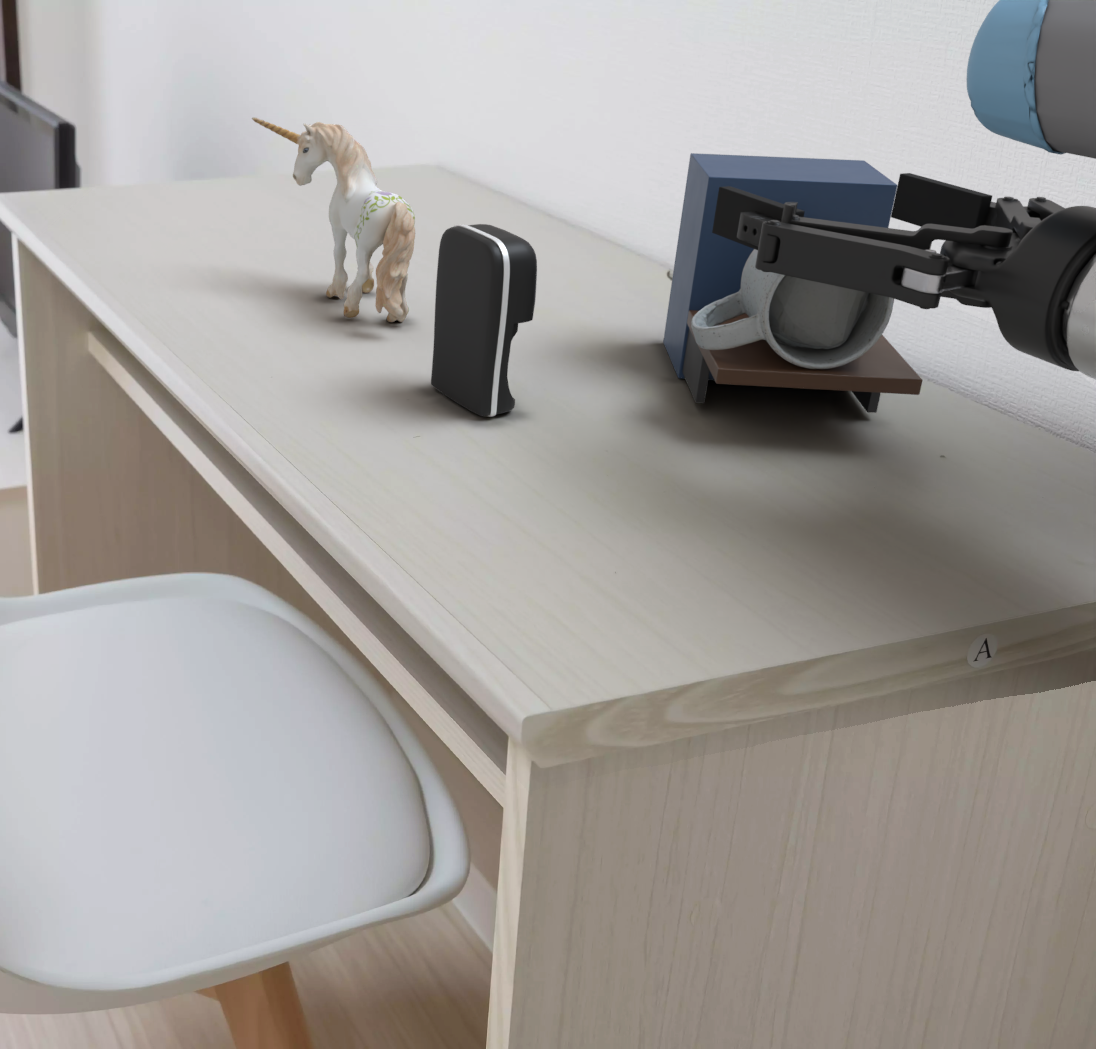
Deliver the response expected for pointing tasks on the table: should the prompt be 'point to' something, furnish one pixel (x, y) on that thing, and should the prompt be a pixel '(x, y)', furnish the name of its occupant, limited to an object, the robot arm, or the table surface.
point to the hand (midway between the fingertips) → (812, 201)
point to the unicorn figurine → (358, 217)
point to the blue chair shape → (718, 262)
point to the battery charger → (480, 313)
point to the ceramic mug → (795, 319)
